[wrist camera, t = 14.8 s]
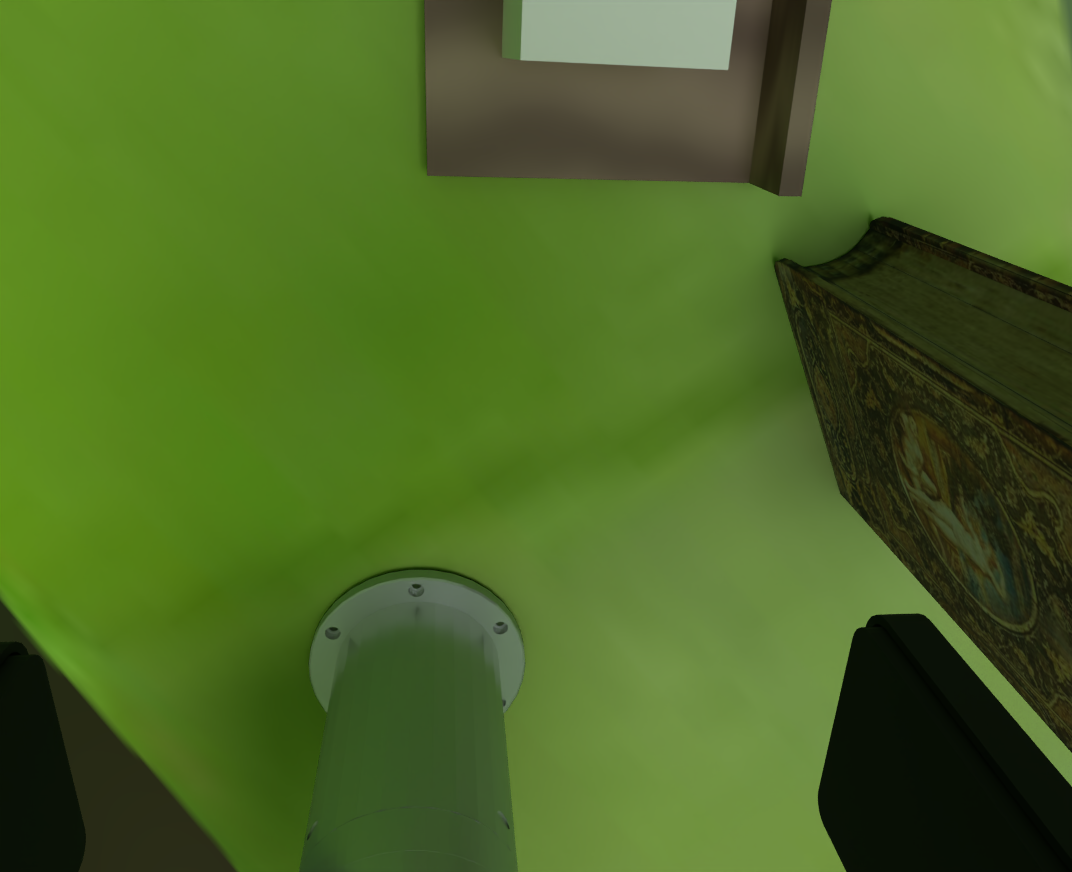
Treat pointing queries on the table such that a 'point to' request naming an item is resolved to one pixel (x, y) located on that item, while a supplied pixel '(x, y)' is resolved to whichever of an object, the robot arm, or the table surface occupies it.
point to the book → (954, 434)
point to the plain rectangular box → (620, 32)
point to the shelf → (625, 104)
